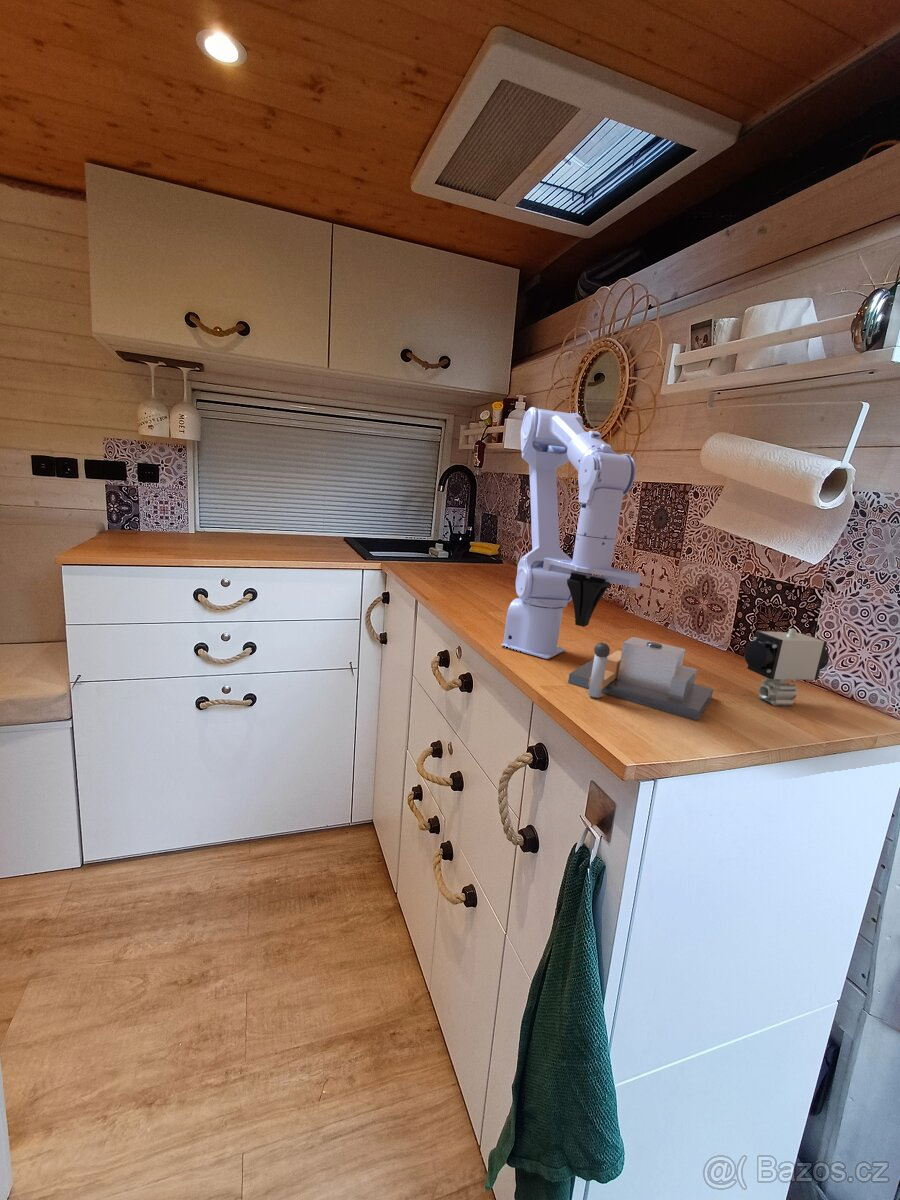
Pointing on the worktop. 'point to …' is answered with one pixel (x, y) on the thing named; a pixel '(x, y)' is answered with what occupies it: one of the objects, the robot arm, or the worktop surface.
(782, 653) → the pneumatic valve
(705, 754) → the worktop surface
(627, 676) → the block
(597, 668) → the ball knob lever
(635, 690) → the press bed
